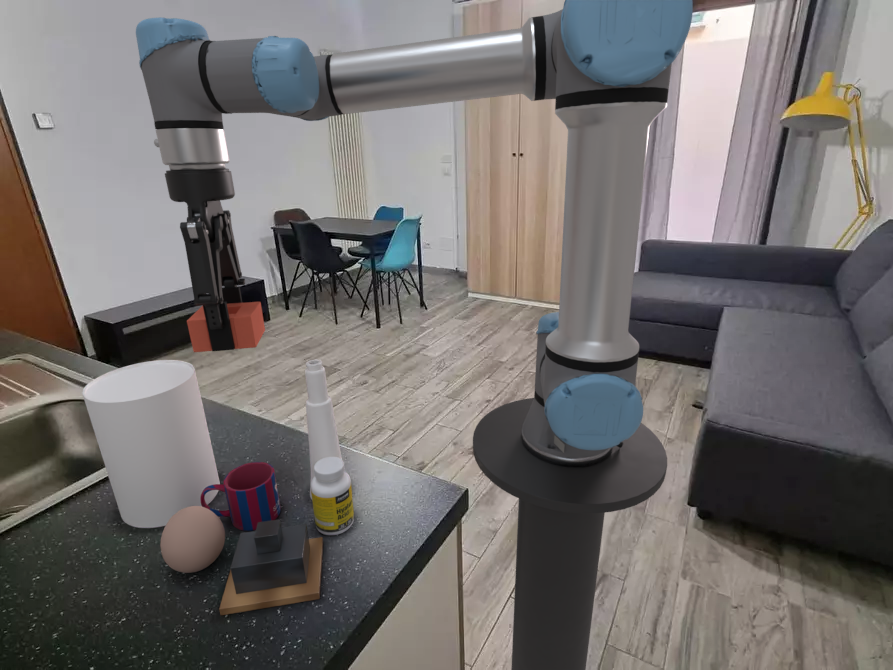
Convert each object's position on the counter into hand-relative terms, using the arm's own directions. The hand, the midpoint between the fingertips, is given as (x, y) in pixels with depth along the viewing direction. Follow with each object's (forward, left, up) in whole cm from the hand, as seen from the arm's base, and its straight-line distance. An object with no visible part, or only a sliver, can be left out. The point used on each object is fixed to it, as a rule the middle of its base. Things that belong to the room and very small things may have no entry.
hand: (230, 339), depth 68 cm
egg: (+5, +15, -25) cm, 30 cm away
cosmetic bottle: (-11, +4, -25) cm, 28 cm away
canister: (+13, 0, -25) cm, 28 cm away
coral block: (0, 0, 0) cm, 0 cm away
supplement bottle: (-12, +11, -25) cm, 30 cm away
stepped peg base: (-5, +19, -25) cm, 32 cm away
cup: (+1, +7, -25) cm, 26 cm away
